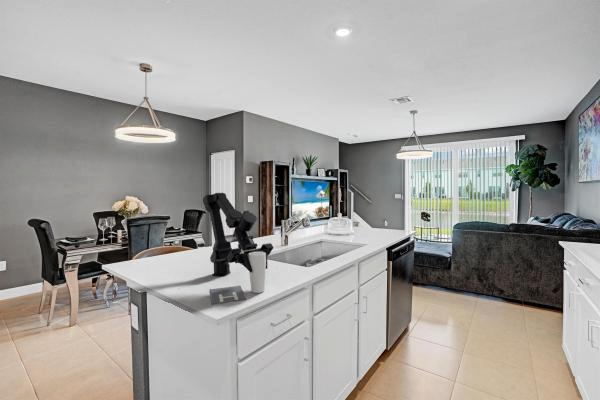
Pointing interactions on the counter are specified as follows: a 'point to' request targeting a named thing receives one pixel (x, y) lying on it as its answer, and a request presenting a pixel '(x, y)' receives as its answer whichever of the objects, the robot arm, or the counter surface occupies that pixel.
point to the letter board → (227, 294)
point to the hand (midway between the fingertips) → (259, 270)
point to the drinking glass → (257, 271)
